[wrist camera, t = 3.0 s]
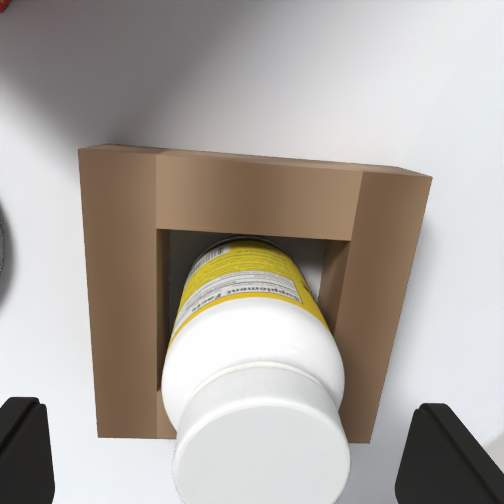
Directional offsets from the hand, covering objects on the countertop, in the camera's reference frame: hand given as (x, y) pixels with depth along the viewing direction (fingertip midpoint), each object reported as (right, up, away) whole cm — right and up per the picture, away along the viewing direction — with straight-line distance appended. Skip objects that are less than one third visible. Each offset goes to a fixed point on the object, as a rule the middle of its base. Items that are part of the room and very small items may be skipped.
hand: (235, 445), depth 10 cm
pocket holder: (0, +3, +8) cm, 8 cm away
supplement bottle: (0, +3, +8) cm, 9 cm away
